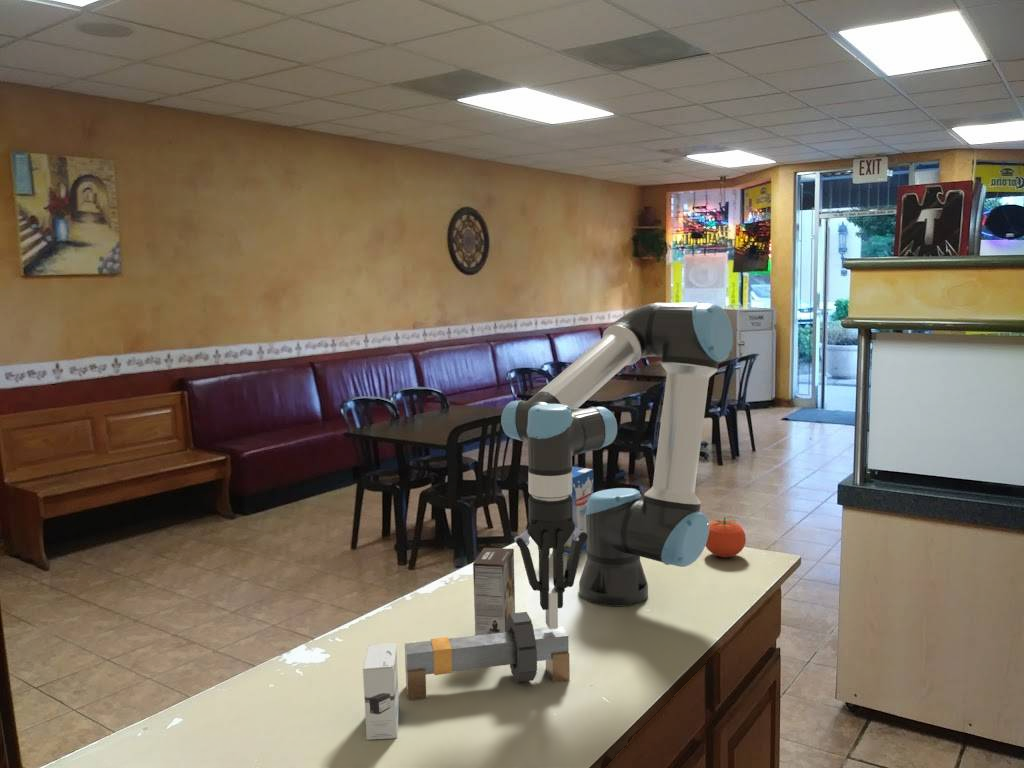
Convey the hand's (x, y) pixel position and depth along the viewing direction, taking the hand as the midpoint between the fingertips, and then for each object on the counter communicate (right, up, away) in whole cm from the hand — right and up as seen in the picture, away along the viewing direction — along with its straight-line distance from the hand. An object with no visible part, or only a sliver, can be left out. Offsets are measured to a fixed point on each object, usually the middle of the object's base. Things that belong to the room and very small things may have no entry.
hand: (551, 625), depth 141 cm
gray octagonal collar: (-5, -9, 0) cm, 11 cm away
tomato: (+46, -1, +58) cm, 74 cm away
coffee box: (-10, -7, +18) cm, 22 cm away
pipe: (-11, -10, -1) cm, 15 cm away
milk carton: (+9, 0, +67) cm, 68 cm away
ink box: (-27, -12, -13) cm, 33 cm away
